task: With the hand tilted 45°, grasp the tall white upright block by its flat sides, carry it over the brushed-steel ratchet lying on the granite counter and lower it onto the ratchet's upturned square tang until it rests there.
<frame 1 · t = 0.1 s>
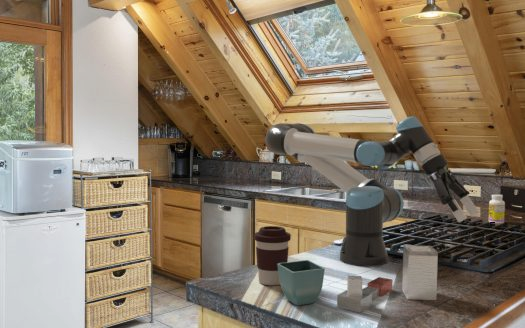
hand: (469, 217, 159), 15 cm above the worktop, tool tilted 35°, fingers open, 13 cm apart
ratchet: (354, 306, 123), on the worktop
supplement bottle: (496, 223, 239), on the worktop
coffee cup: (271, 282, 142), on the worktop
flower pot: (300, 302, 126), on the worktop
tall white upright block: (418, 295, 132), on the worktop
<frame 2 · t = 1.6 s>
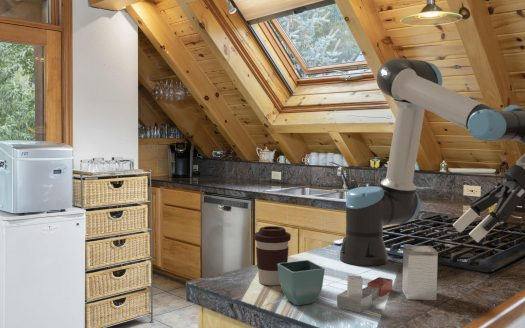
hand: (464, 233, 130), 16 cm above the worktop, tool tilted 45°, fingers open, 13 cm apart
nothing on the worktop moved.
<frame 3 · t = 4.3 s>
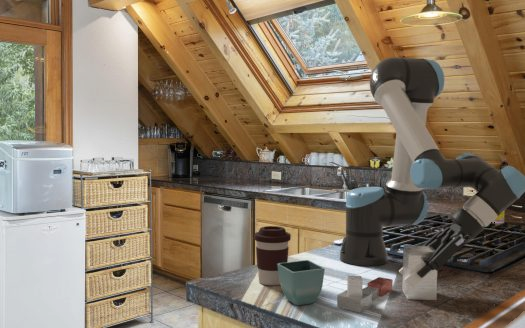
hand: (405, 279, 132), 4 cm above the worktop, tool tilted 45°, fingers closed on tall white upright block, 7 cm apart
tall white upright block: (418, 295, 132), on the worktop, touching gripper
everything else where it was.
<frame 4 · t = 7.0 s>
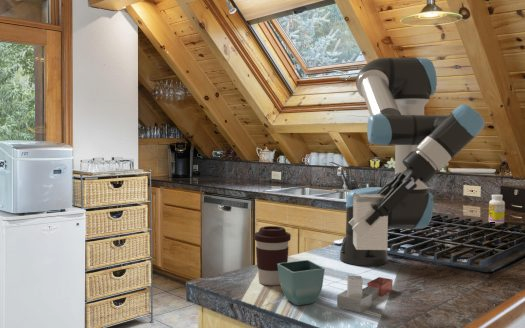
hand: (354, 229, 122), 18 cm above the worktop, tool tilted 45°, fingers closed on tall white upright block, 7 cm apart
tall white upright block: (369, 246, 122), point 14 cm above the worktop, touching gripper
everything else where it was.
when the fingers open (8 cm above the worktop, at t = 10.0 s): tall white upright block drops 1 cm, resting on ratchet.
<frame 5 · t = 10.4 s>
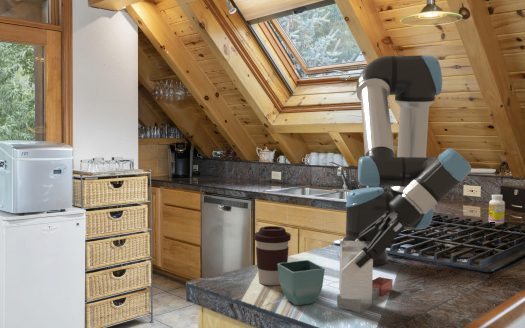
hand: (343, 267, 122), 9 cm above the worktop, tool tilted 45°, fingers open, 12 cm apart
ratchet: (354, 306, 123), on the worktop, touching tall white upright block
tall white upright block: (355, 294, 122), point 3 cm above the worktop, touching ratchet
everything else where it was.
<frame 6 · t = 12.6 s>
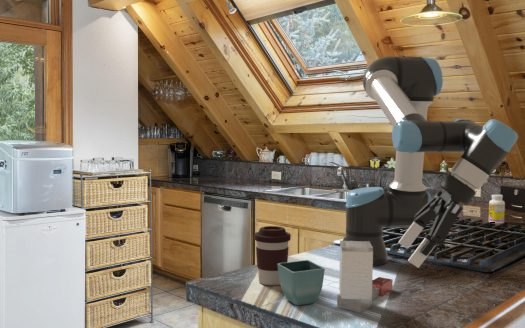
hand: (407, 254, 123), 12 cm above the worktop, tool tilted 35°, fingers open, 13 cm apart
nothing on the worktop moved.
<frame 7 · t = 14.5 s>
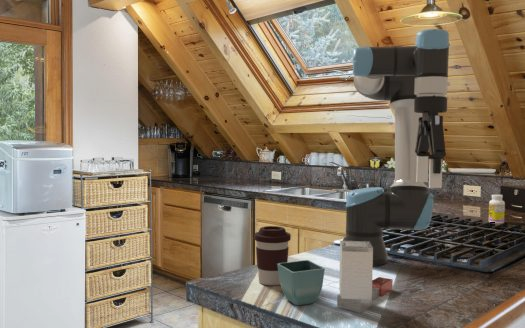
hand: (428, 184, 125), 29 cm above the worktop, tool pointing down, fingers open, 13 cm apart
nothing on the worktop moved.
at the end: tall white upright block 0.1 cm off-centre on the ratchet, point 3.0 cm above the ratchet's base; tall white upright block tilted 0°; the gripper is holding nothing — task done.
